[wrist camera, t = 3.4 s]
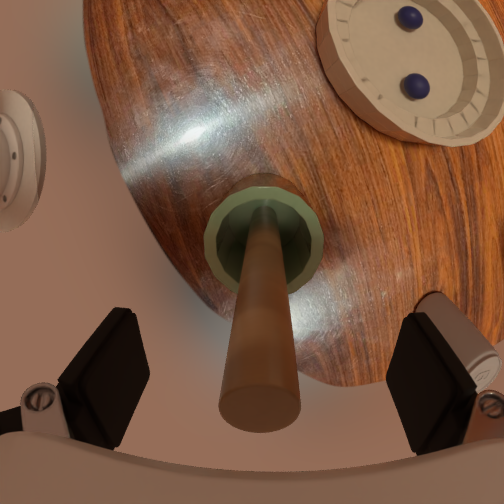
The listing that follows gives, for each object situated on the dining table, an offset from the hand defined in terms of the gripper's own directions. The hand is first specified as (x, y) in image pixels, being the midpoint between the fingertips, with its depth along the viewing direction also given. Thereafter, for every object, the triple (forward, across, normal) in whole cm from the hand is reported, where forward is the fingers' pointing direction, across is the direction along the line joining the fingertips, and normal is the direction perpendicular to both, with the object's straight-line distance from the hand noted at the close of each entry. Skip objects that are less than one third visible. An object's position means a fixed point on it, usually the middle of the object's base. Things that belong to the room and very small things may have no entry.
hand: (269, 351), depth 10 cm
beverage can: (+18, -18, +10) cm, 28 cm away
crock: (+18, 0, 0) cm, 18 cm away
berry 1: (+16, -12, -20) cm, 28 cm away
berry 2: (+16, -12, -13) cm, 24 cm away
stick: (+17, 0, 0) cm, 17 cm away
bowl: (+18, -12, -16) cm, 27 cm away
